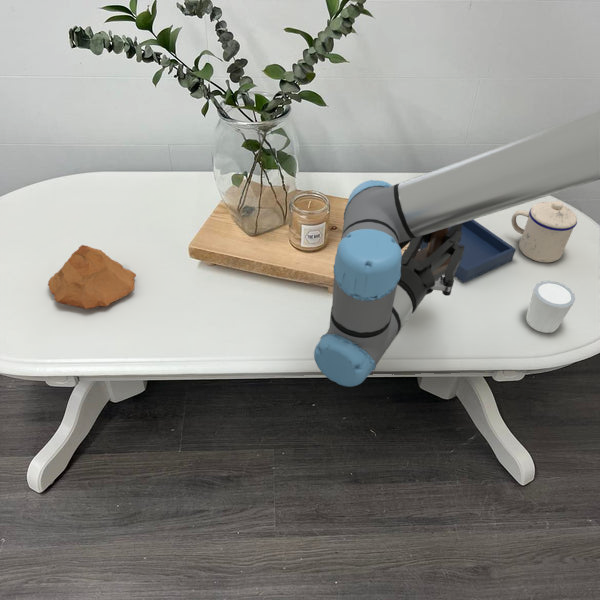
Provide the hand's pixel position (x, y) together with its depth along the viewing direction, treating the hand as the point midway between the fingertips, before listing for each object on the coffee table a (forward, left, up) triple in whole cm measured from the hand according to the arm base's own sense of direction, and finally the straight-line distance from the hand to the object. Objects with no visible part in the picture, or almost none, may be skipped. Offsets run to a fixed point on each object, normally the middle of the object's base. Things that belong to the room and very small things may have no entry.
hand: (451, 220), depth 96 cm
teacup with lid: (+1, -29, -18) cm, 34 cm away
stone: (+35, +53, -18) cm, 66 cm away
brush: (-2, +5, -8) cm, 10 cm away
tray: (+9, -15, -18) cm, 25 cm away
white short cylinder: (-15, -13, -18) cm, 27 cm away
